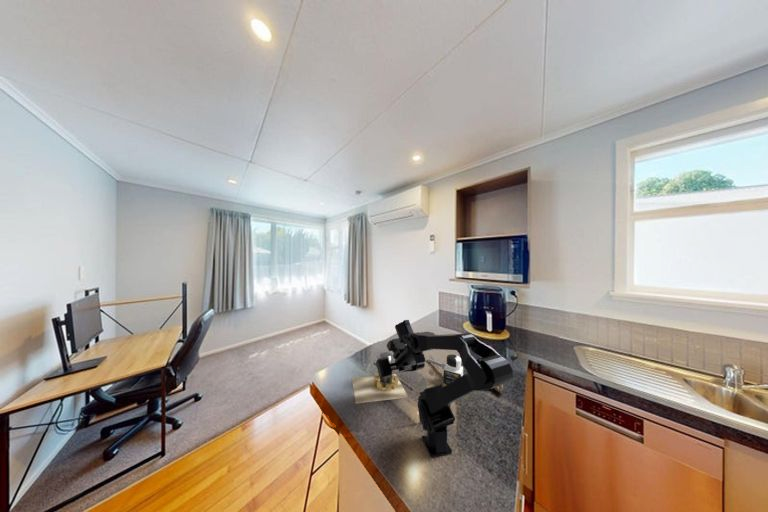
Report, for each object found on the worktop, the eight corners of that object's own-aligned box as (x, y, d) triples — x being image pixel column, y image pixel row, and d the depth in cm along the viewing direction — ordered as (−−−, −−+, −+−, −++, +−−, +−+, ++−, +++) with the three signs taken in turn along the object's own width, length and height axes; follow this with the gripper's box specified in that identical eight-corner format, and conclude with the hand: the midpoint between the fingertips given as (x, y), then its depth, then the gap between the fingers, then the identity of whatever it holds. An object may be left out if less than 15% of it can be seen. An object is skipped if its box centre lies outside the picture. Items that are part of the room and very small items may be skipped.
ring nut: (400, 389, 84) (400, 383, 84) (376, 392, 82) (376, 386, 82) (393, 376, 94) (393, 370, 94) (371, 378, 92) (371, 372, 92)
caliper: (453, 379, 94) (454, 364, 95) (451, 379, 94) (452, 364, 95) (428, 360, 114) (429, 348, 114) (426, 360, 113) (427, 348, 114)
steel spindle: (391, 387, 85) (391, 357, 86) (379, 387, 86) (379, 357, 86) (392, 381, 90) (392, 352, 91) (380, 380, 91) (380, 352, 91)
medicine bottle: (442, 385, 90) (443, 357, 90) (446, 378, 96) (447, 351, 96) (460, 391, 86) (461, 361, 87) (462, 382, 93) (463, 355, 93)
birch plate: (408, 400, 80) (408, 397, 80) (355, 407, 75) (355, 403, 75) (395, 376, 96) (395, 374, 96) (351, 381, 92) (351, 378, 92)
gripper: (420, 330, 83) (405, 349, 93) (378, 337, 75) (365, 356, 84) (433, 359, 76) (415, 375, 85) (388, 369, 68) (373, 386, 77)
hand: (392, 372), depth 83 cm, fingers open, 9 cm apart
